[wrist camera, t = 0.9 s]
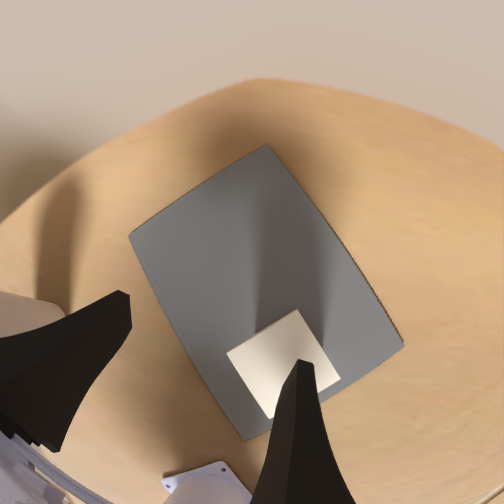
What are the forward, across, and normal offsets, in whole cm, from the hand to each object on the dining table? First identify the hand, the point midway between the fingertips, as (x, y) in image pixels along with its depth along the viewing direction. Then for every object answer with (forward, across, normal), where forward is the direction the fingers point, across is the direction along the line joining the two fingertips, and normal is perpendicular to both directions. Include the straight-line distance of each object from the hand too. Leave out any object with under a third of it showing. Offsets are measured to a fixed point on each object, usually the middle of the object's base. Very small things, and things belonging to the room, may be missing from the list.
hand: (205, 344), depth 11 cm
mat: (+12, -1, +6) cm, 13 cm away
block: (+9, -4, +8) cm, 13 cm away
